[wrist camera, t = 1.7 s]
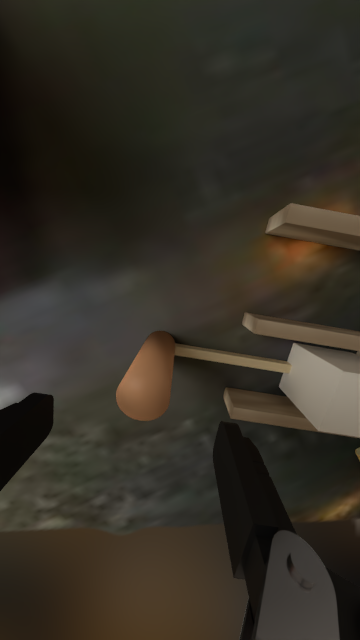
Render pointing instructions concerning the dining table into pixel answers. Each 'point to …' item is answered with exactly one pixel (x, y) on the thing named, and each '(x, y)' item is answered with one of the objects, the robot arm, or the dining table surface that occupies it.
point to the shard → (358, 452)
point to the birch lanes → (275, 407)
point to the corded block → (298, 372)
